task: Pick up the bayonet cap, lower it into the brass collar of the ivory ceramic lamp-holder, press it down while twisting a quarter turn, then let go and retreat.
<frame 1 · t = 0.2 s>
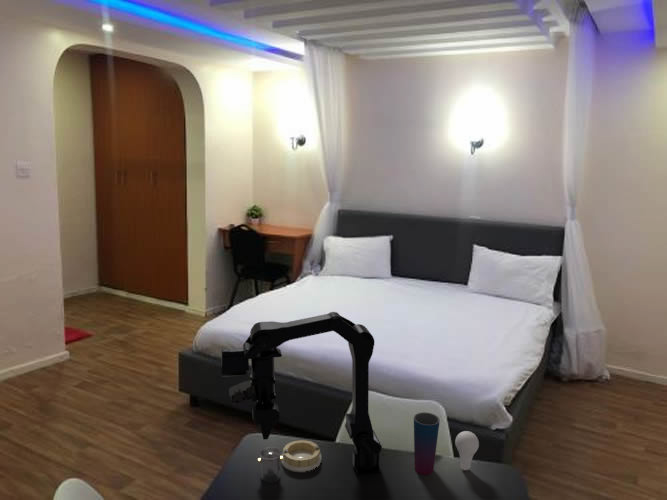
hand: (264, 429, 143), 14 cm above the table, fingers open, 9 cm apart
lightbulb: (465, 470, 150), on the table
bayonet cap: (270, 476, 146), on the table
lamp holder: (301, 460, 153), on the table
cup: (423, 470, 150), on the table
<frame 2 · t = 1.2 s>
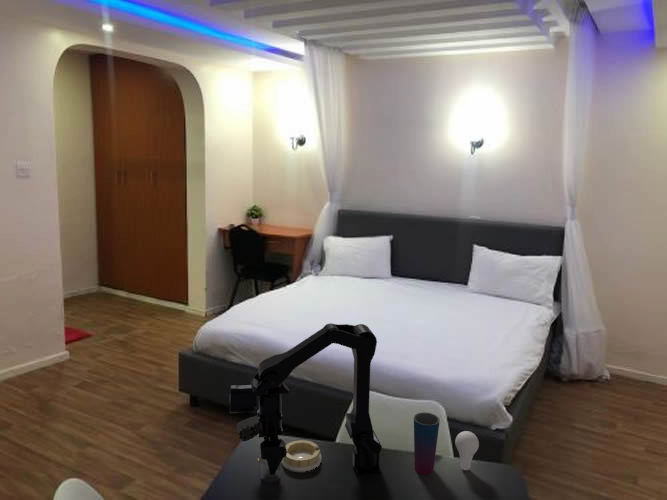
hand: (270, 463, 145), 4 cm above the table, fingers open, 9 cm apart
nothing on the table moved.
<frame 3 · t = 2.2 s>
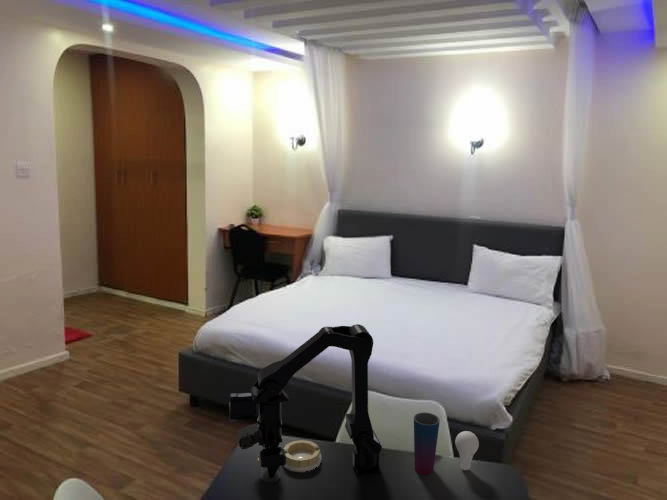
hand: (270, 471, 146), 2 cm above the table, fingers closed on bayonet cap, 5 cm apart
bayonet cap: (270, 476, 146), on the table, touching gripper
everything else where it was.
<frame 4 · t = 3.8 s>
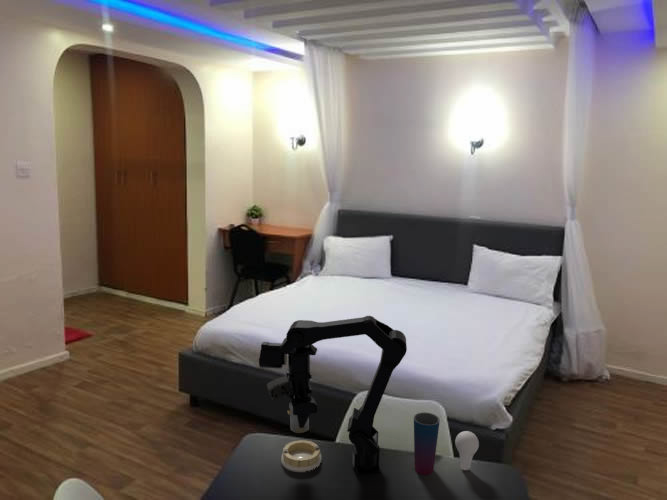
hand: (299, 422, 150), 12 cm above the table, fingers closed on bayonet cap, 5 cm apart
bayonet cap: (299, 428, 151), point 10 cm above the table, touching gripper
everything else where it was.
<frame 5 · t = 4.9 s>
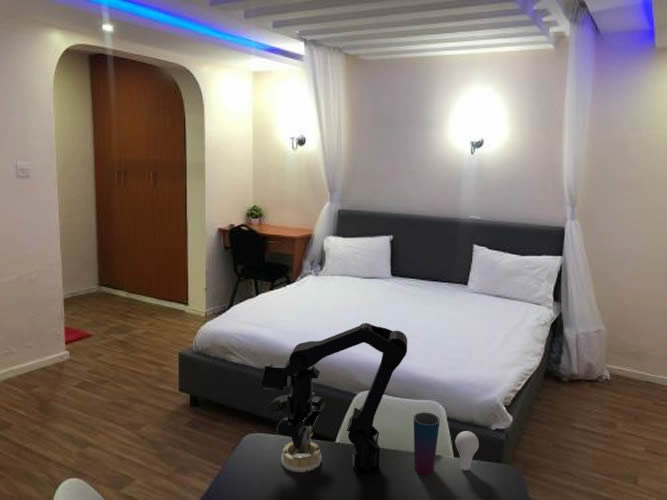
hand: (301, 443, 152), 5 cm above the table, fingers closed on bayonet cap, 5 cm apart
bayonet cap: (301, 448, 153), point 4 cm above the table, touching gripper
everything else where it was.
when the fingers open (4 cm above the table, at t = 5.7 s): bayonet cap drops 1 cm, resting on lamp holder.
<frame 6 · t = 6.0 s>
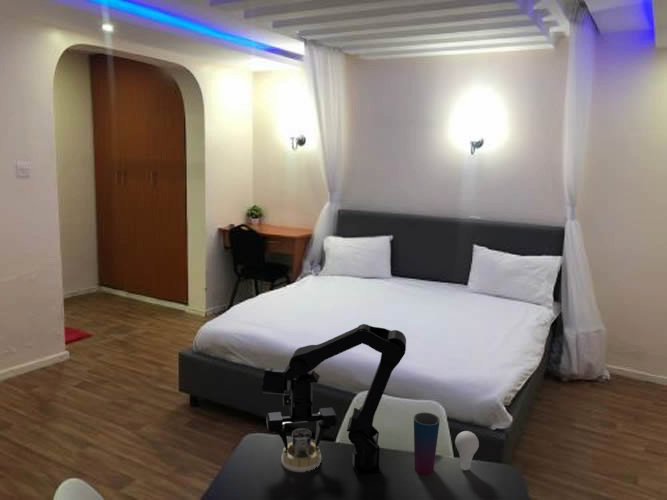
hand: (301, 447, 153), 4 cm above the table, fingers open, 8 cm apart
bayonet cap: (301, 456, 153), point 1 cm above the table, touching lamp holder
everything else where it was.
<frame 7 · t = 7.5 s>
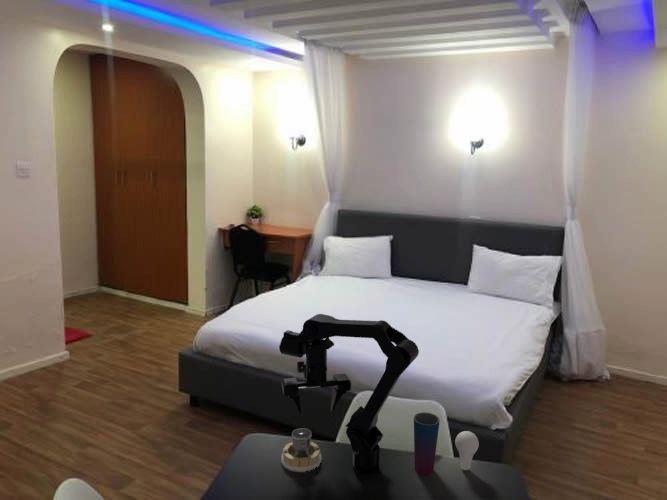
hand: (316, 412, 155), 12 cm above the table, fingers open, 9 cm apart
nothing on the table moved.
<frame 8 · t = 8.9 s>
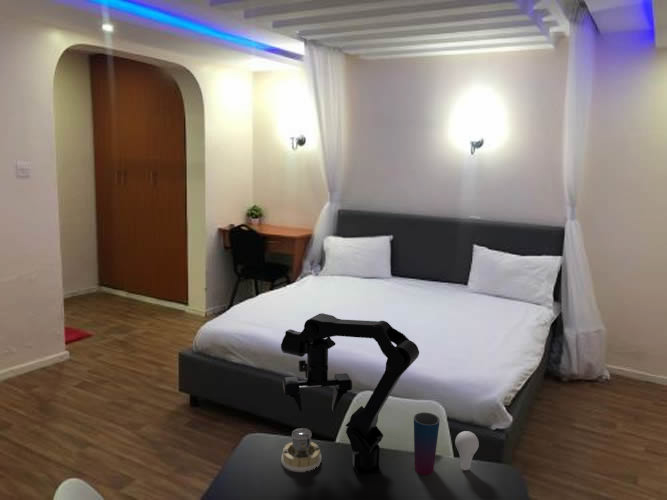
hand: (317, 412, 156), 12 cm above the table, fingers open, 9 cm apart
nothing on the table moved.
at the end: bayonet cap 0.1 cm off-centre on the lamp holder, point 1.2 cm above the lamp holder's base; bayonet cap tilted 0°; the gripper is holding nothing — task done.
